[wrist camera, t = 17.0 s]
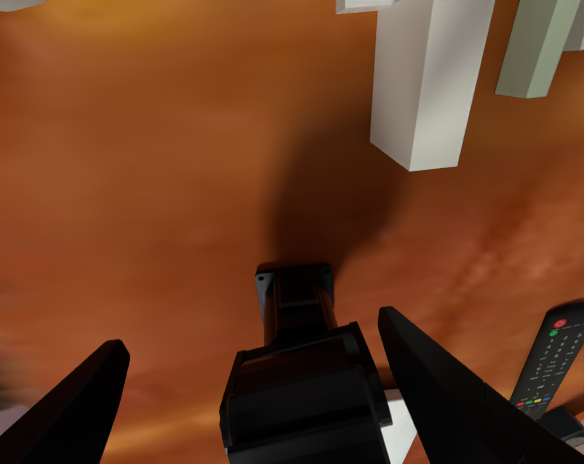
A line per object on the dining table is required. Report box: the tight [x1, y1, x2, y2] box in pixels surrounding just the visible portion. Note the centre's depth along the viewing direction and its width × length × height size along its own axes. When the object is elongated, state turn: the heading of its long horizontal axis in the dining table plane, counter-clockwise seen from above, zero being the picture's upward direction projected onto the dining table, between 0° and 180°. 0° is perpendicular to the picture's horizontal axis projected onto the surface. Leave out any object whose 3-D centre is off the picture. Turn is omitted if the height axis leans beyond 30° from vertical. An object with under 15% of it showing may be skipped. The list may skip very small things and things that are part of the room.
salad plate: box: [381, 389, 417, 464], centre depth 37 cm, size 21×21×3 cm
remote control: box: [510, 302, 584, 420], centre depth 36 cm, size 5×24×1 cm, turn 10°
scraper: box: [336, 0, 495, 171], centre depth 14 cm, size 11×7×6 cm, turn 5°
